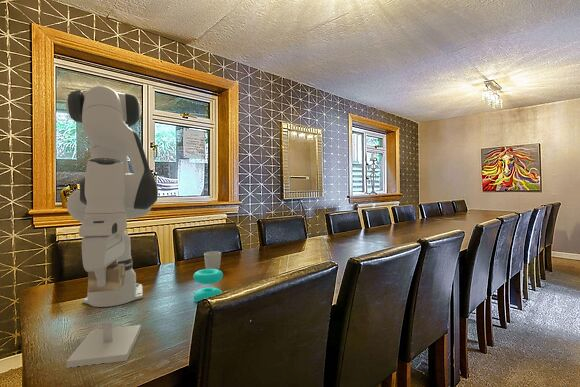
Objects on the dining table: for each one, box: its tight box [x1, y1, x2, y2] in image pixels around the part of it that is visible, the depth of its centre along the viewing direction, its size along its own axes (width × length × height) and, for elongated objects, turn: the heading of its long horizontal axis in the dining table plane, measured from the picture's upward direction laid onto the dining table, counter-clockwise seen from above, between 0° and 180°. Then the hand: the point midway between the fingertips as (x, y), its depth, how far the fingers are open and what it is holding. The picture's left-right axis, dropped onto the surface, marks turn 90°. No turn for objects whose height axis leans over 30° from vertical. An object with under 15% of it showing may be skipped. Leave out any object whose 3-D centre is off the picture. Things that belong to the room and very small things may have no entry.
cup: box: [203, 250, 222, 270], centre depth 154 cm, size 11×8×8 cm
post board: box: [65, 320, 142, 369], centre depth 79 cm, size 16×12×6 cm
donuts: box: [192, 268, 224, 303], centre depth 112 cm, size 10×10×10 cm
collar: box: [87, 263, 125, 294], centre depth 79 cm, size 6×6×5 cm
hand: (107, 280), depth 79 cm, fingers closed on collar, 6 cm apart
